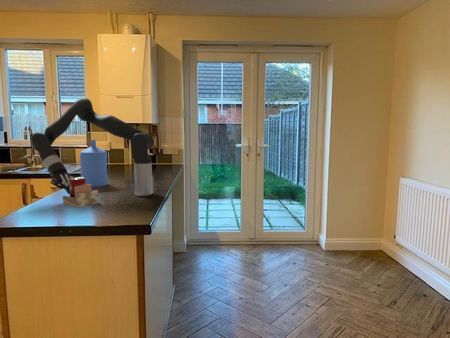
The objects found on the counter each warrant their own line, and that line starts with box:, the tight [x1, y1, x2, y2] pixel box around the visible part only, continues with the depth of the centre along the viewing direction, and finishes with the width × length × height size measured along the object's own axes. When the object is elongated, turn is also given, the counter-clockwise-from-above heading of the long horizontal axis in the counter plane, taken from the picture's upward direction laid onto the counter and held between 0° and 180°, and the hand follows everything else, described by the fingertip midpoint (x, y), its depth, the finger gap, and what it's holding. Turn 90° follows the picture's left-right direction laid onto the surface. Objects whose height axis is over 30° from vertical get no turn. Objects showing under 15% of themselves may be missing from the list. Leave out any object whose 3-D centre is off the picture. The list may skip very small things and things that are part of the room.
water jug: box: [79, 139, 109, 188], centre depth 202 cm, size 16×16×28 cm
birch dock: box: [62, 189, 100, 208], centre depth 156 cm, size 11×11×6 cm
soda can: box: [69, 176, 86, 197], centre depth 156 cm, size 7×7×12 cm
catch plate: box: [75, 184, 93, 198], centre depth 154 cm, size 8×1×9 cm, turn 151°
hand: (71, 193), depth 158 cm, fingers closed
